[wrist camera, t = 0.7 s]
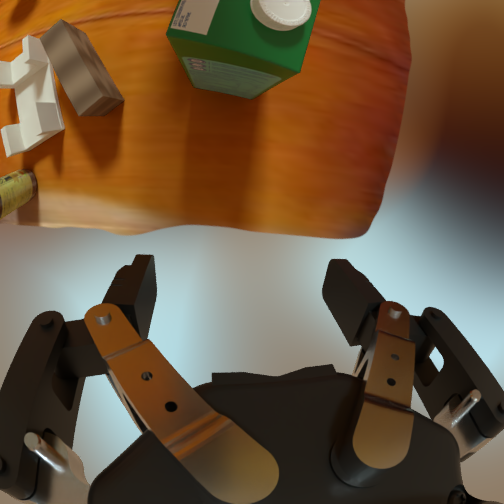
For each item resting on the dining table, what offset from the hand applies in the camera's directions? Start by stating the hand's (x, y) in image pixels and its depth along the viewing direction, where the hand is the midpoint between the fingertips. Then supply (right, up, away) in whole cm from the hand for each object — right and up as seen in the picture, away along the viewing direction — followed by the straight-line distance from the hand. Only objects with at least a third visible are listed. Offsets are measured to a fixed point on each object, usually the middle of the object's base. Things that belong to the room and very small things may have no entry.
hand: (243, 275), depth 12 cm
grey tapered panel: (-24, +29, +17) cm, 41 cm away
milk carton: (-3, +28, +21) cm, 35 cm away
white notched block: (-36, +27, +15) cm, 47 cm away
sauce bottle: (-40, +13, +22) cm, 48 cm away
